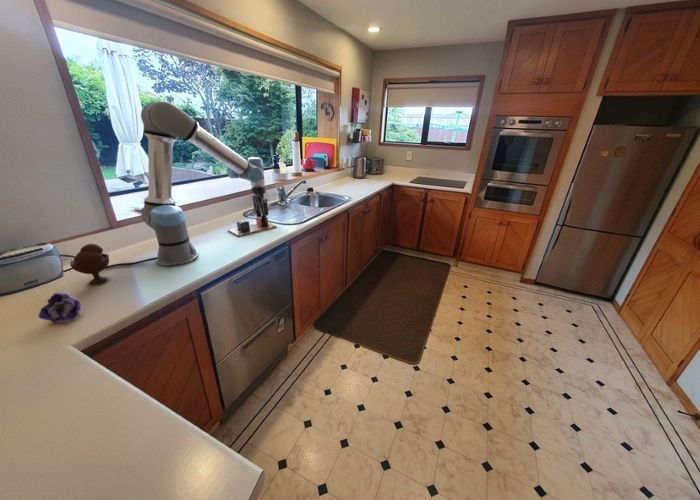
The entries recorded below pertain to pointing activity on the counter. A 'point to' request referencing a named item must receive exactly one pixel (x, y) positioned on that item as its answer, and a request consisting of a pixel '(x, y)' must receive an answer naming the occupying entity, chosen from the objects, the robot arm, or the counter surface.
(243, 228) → the dark grey cube
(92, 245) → the ice cream bowl
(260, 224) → the orange block
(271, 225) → the word board
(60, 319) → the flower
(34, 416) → the counter surface
